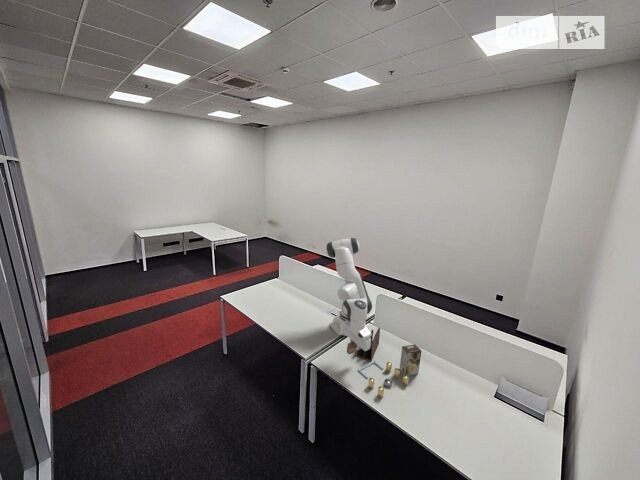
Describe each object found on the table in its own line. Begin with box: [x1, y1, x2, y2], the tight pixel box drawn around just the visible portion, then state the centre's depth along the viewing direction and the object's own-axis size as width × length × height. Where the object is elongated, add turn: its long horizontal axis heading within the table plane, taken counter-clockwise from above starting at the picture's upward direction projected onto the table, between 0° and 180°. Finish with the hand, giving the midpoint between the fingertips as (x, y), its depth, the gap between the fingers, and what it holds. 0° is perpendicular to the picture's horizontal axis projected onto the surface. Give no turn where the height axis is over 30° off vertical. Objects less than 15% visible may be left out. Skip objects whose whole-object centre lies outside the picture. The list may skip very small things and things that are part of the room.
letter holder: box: [356, 327, 381, 362], centre depth 174 cm, size 10×20×14 cm, turn 154°
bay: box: [357, 360, 384, 380], centre depth 158 cm, size 7×14×1 cm, turn 125°
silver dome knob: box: [383, 378, 393, 389], centre depth 148 cm, size 4×4×2 cm
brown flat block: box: [346, 341, 362, 355], centre depth 157 cm, size 2×10×6 cm, turn 127°
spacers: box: [367, 361, 410, 400], centre depth 148 cm, size 15×21×5 cm
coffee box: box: [399, 344, 422, 376], centre depth 156 cm, size 9×6×16 cm
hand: (354, 347), depth 157 cm, fingers closed on brown flat block, 2 cm apart
